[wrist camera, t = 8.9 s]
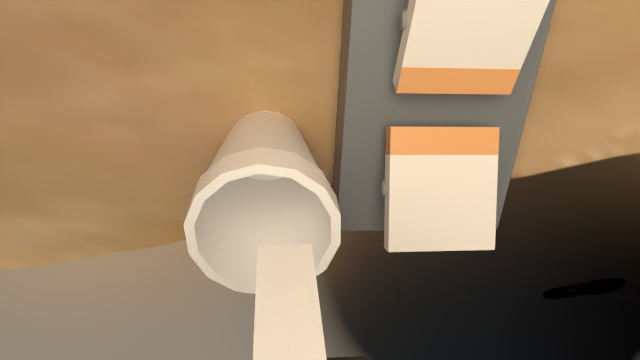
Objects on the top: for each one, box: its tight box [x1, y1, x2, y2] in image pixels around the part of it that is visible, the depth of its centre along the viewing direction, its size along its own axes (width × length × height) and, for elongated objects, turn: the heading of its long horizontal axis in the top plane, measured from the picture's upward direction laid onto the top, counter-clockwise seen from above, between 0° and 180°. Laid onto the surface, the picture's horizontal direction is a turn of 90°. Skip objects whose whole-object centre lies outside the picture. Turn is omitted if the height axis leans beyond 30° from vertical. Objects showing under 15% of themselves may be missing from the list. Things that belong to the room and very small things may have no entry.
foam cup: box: [184, 110, 341, 294], centre depth 35 cm, size 10×9×13 cm
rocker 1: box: [393, 0, 550, 95], centre depth 30 cm, size 8×9×2 cm
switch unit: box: [332, 0, 556, 231], centre depth 37 cm, size 14×23×6 cm, turn 178°
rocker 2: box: [380, 127, 500, 252], centre depth 36 cm, size 8×9×2 cm
